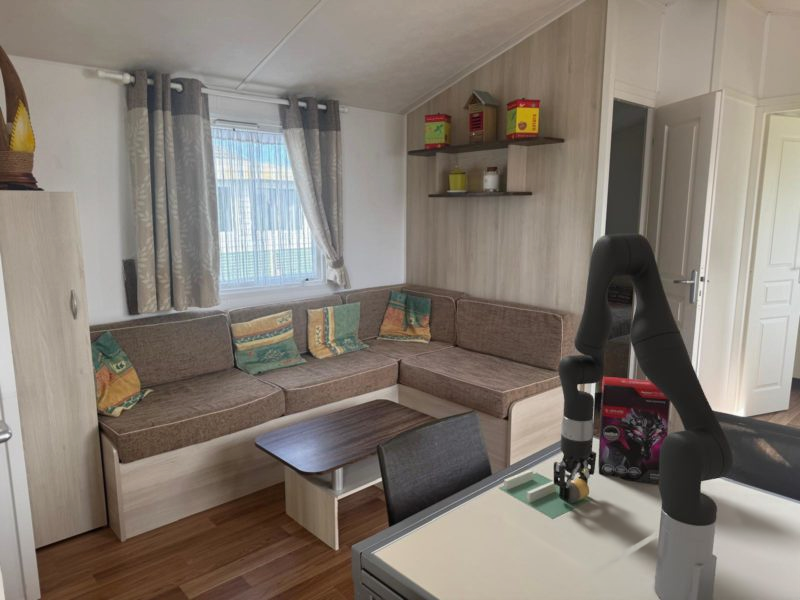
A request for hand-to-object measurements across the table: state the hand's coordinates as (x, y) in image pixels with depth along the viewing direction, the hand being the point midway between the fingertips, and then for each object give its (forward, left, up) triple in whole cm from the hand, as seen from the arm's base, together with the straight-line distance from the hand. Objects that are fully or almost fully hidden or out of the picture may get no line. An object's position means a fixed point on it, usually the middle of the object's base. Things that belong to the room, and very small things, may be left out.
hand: (573, 495), depth 143 cm
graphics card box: (0, -24, -2) cm, 25 cm away
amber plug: (0, 0, -1) cm, 1 cm away
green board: (+6, +4, -2) cm, 7 cm away
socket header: (+9, +6, -2) cm, 11 cm away
